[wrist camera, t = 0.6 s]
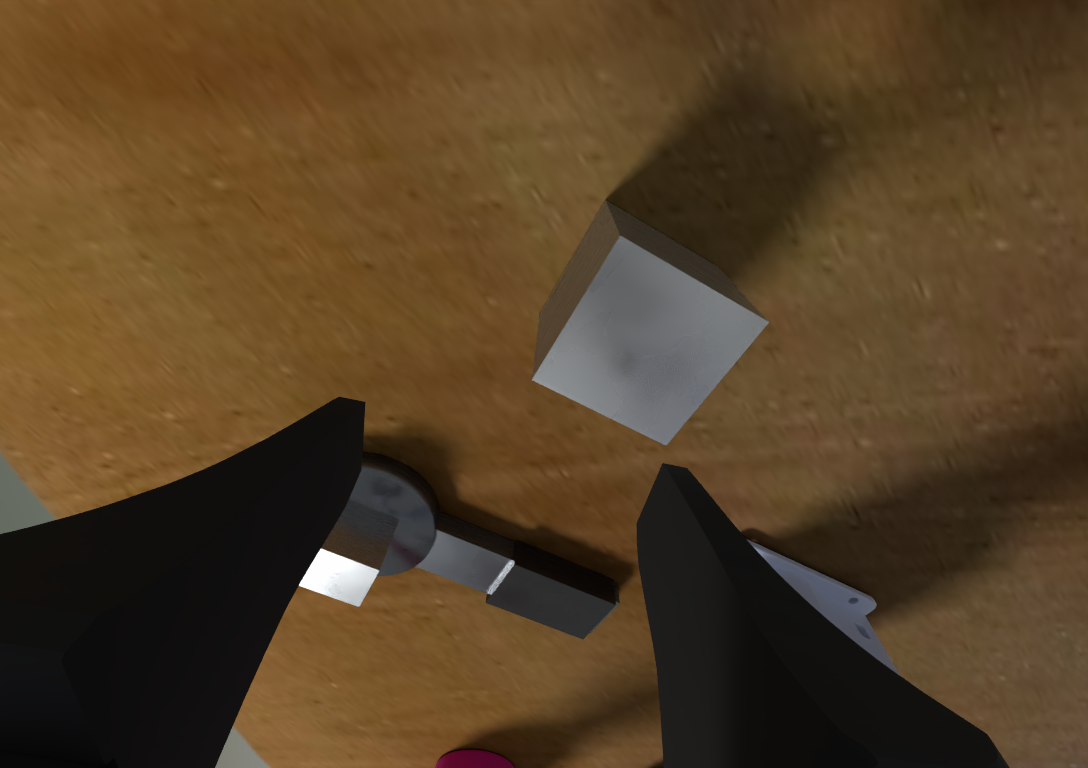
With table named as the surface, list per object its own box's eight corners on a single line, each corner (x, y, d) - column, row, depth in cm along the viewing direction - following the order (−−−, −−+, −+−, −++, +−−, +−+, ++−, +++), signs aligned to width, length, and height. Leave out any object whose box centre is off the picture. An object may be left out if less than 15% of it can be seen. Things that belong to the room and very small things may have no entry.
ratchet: (637, 562, 27) (649, 639, 23) (572, 632, 30) (573, 709, 26) (325, 430, 23) (278, 494, 20) (287, 524, 27) (241, 596, 23)
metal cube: (717, 266, 19) (769, 322, 14) (643, 368, 21) (666, 445, 16) (605, 199, 18) (620, 235, 13) (539, 313, 20) (531, 379, 15)
